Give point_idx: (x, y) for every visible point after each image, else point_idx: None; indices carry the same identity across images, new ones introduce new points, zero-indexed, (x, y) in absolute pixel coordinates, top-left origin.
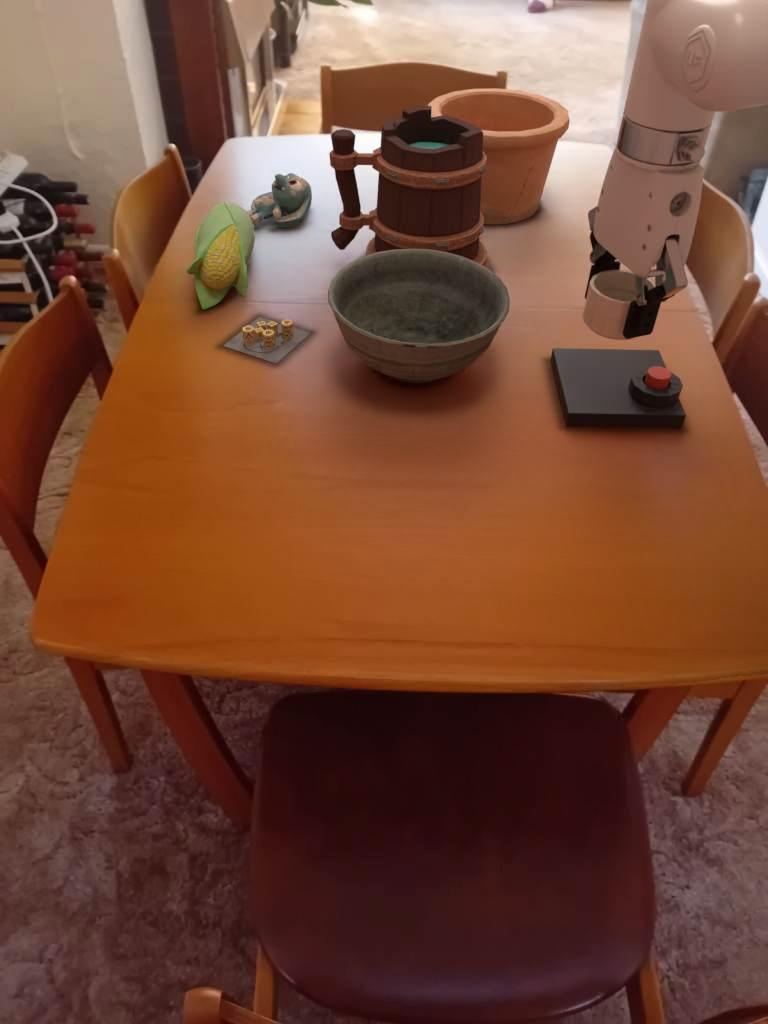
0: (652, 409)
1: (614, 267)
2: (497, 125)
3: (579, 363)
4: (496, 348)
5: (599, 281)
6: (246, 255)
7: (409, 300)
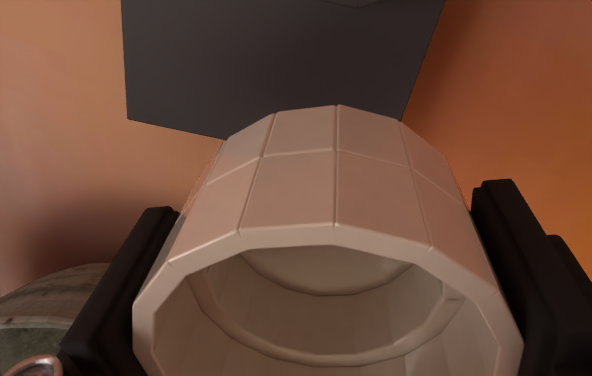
0: None
1: (124, 357)
2: None
3: (193, 80)
4: (102, 189)
5: (202, 369)
6: None
7: (32, 344)
